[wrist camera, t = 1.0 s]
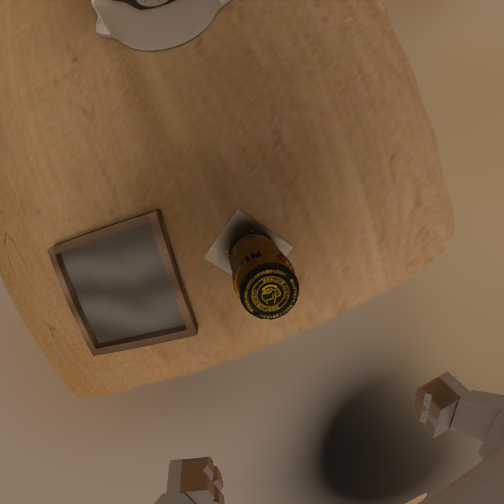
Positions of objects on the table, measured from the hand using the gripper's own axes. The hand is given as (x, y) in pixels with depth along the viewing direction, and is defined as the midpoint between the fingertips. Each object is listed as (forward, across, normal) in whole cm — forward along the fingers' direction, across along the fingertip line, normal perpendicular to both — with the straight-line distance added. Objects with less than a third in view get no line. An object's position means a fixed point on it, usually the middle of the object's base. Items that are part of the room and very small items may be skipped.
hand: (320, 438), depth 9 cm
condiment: (+28, 0, 0) cm, 29 cm away
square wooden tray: (+28, +17, 0) cm, 33 cm away
